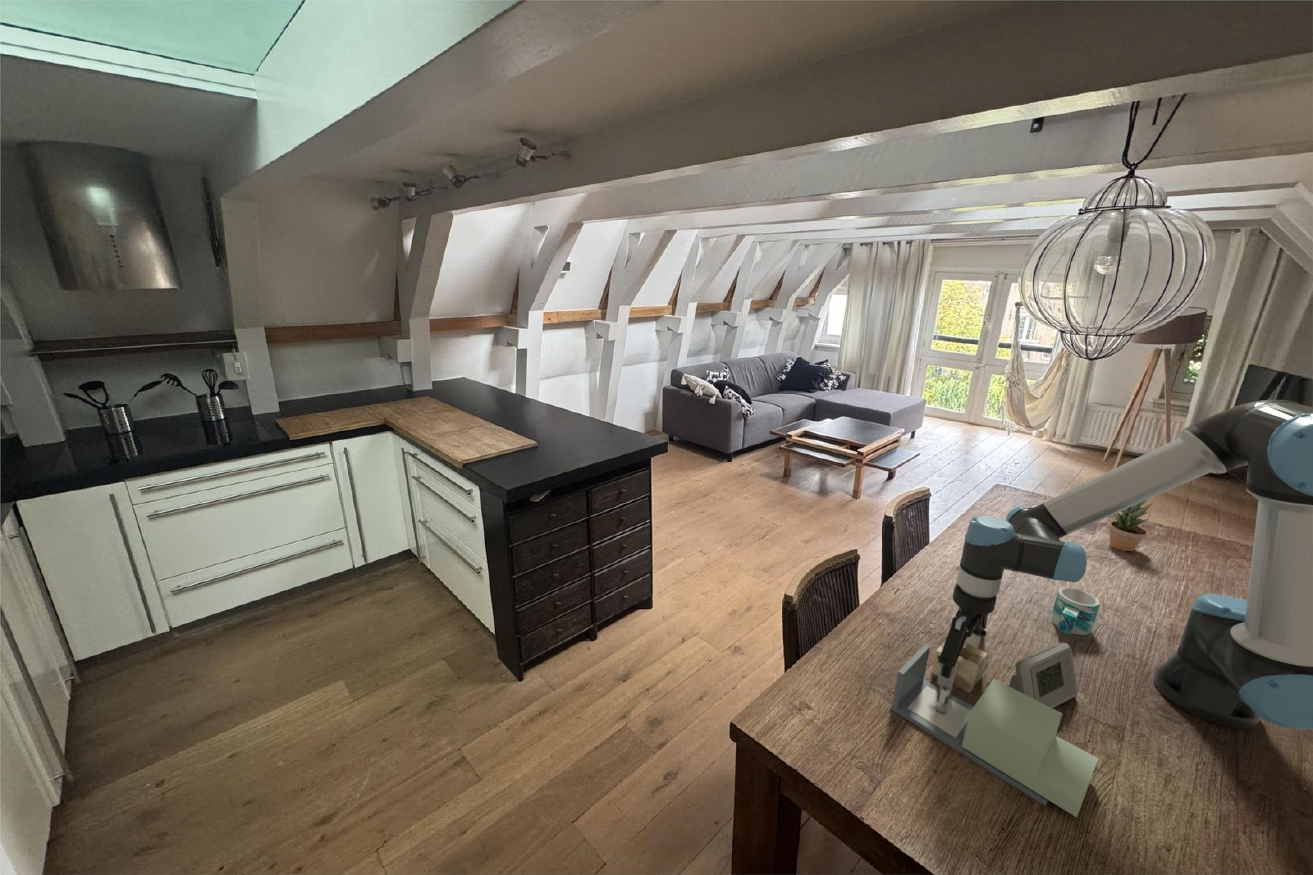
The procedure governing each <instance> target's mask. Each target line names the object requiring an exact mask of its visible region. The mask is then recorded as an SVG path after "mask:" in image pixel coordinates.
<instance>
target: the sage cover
mask: <svg viewBox="0 0 1313 875" xmlns="http://www.w3.org/2000/svg"><path fill="white" fill-rule="evenodd" d="M1062 716H1063V713H1062V712H1060V711H1059V710H1057V709H1054V708H1050V707H1049V706H1047V705H1045V704H1043V703H1041V702H1039V701H1037V700H1035V699H1033V698H1031V697H1029V696H1027V695H1025V694H1023V693H1021V692H1019V691H1017V690H1015V689H1013V688H1011V687H1009V685H1007V684H1005V683H1003V682H1001V681H999V680H997V679H995V678H992V680H991V681H990V683H989V684H988V686H986V689H985V690H984V692H983V693H982V694H981V696H980V697H979V699H978V700H977V701H976V702H975V705H974V706H973V708H972V710H971V711H970V715H969V719H968V723H967V727H966V731H965V735H964V740H963V744H962V747H963V748H965V749H967V750H968V751H970V752H972V753H973V754H975V755H976V756H978V757H980V758H981V759H983V760H984V761H986V762H988V763H989V764H991V765H993V766H994V767H996V768H997V769H999V770H1001V771H1002V772H1004V773H1006V774H1007V775H1009V776H1010V777H1012V778H1014V779H1015V780H1017V781H1019V782H1020V783H1022V784H1023V785H1025V786H1027V787H1028V788H1030V789H1031V790H1033V791H1035V792H1036V793H1038V794H1040V795H1041V796H1043V797H1044V798H1046V799H1048V802H1051V803H1053V804H1054V805H1056V806H1057V807H1059V808H1060V809H1063V810H1064V811H1065V812H1067V813H1069V814H1071V815H1072V816H1074V817H1075V818H1078V815H1079V813H1080V810H1081V807H1082V805H1083V803H1084V799H1085V796H1086V794H1087V791H1088V788H1089V786H1090V783H1091V780H1092V777H1093V774H1094V773H1095V769H1096V766H1097V763H1098V760H1099V758H1098V757H1097V756H1094V755H1093V754H1091V753H1089V752H1087V751H1086V750H1083V749H1081V748H1079V747H1077V746H1076V745H1075V744H1072V743H1071V742H1069V741H1067V740H1065V739H1063V738H1061V737H1059V736H1057V733H1058V729H1059V726H1060V723H1061V720H1062Z"/></svg>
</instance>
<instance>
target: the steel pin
mask: <svg viewBox="0 0 1313 875" xmlns="http://www.w3.org/2000/svg"><path fill="white" fill-rule="evenodd" d="M938 687H939V691H938V695H937V700H936V705H935V710H936V711H937V712H938V713H940V714H946V711H947V707H948V702H949V698H950V694H952V693H951V692H952V690H951V691H950V690H949V689H948V688H946V687H943V686H938Z"/></svg>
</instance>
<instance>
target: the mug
mask: <svg viewBox="0 0 1313 875" xmlns="http://www.w3.org/2000/svg"><path fill="white" fill-rule="evenodd" d="M1056 593H1057V594H1056V598H1055V600H1054V604H1053V608H1052V612H1051V616H1050V619H1051V622H1052V623H1053V624H1054V625H1055V626H1057V631H1059V632H1062V633H1064V634H1067V635H1069V636H1071V635H1072V634H1073V635H1074V634H1075V635H1082V636H1086V635H1089V634H1091V633H1092V631H1093V629H1094V625H1095V621H1096V618H1097V616H1098V613H1099V612H1098V611H1099V609H1100V606H1101V603H1100V600H1099V598H1097V597H1096V596H1095V595H1093V594H1092V593H1090V592H1087V591H1084V590H1081V589H1079V588H1077V587H1076V588H1075V587H1067V586H1064V587H1060V588H1058V590H1057V592H1056Z"/></svg>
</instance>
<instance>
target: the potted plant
mask: <svg viewBox="0 0 1313 875" xmlns="http://www.w3.org/2000/svg"><path fill="white" fill-rule="evenodd" d="M1147 501H1148V500H1145V501H1143V502H1141V503H1139V504H1136V505H1134V506H1132V507H1129V508H1127V509H1125V510H1123V511H1120V512H1121V513H1120V512H1118V513H1116V514H1113V516H1115V520H1111V521H1109V523H1108V527H1107V528H1108V529H1109V544H1110V546H1111V547H1112V548H1113V547H1114V548H1113V549H1116V550H1118V549H1120V550H1119V551H1121V550H1123V551H1122V552H1126V551H1132V552H1134V551H1135V549H1136V548H1137V547H1138V546H1139V544H1140V543H1141V542H1142V541H1143V540H1144V539H1146V538H1147V536H1148V534H1149V532H1148V530H1146V528H1143V527H1141V526H1139V525H1141V524H1144V523H1145V522H1146V521H1149V518H1146V519H1142V518H1141V517H1143V516H1145V515H1147V514H1148V511H1147V510H1148V509H1150V507H1151V506H1152V505H1153V504H1154V502H1152V503H1149V504H1148V505H1146V506H1143V505H1144V504H1145V503H1146V502H1147ZM1142 506H1143V507H1142Z"/></svg>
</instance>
